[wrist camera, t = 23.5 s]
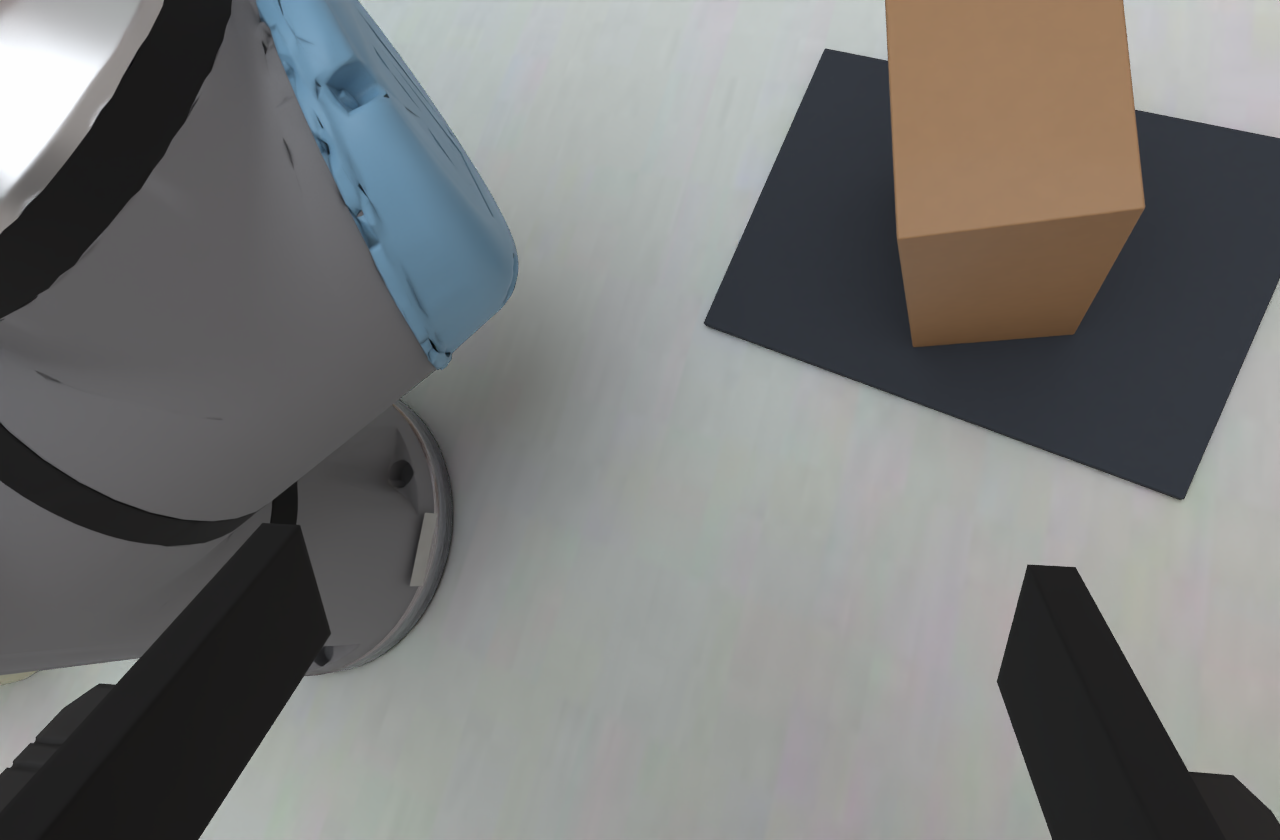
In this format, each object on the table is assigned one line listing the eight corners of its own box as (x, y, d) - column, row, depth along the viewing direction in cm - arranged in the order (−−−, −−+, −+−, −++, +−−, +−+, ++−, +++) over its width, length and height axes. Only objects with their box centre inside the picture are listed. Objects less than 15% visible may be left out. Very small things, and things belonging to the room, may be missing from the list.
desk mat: (705, 325, 37) (703, 323, 37) (826, 53, 37) (824, 48, 37) (1180, 500, 29) (1184, 499, 29) (1331, 154, 29) (1336, 148, 29)
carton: (912, 347, 33) (896, 239, 22) (903, 170, 35) (884, -16, 24) (1074, 334, 31) (1145, 208, 20) (1057, 145, 32) (1116, -70, 21)
